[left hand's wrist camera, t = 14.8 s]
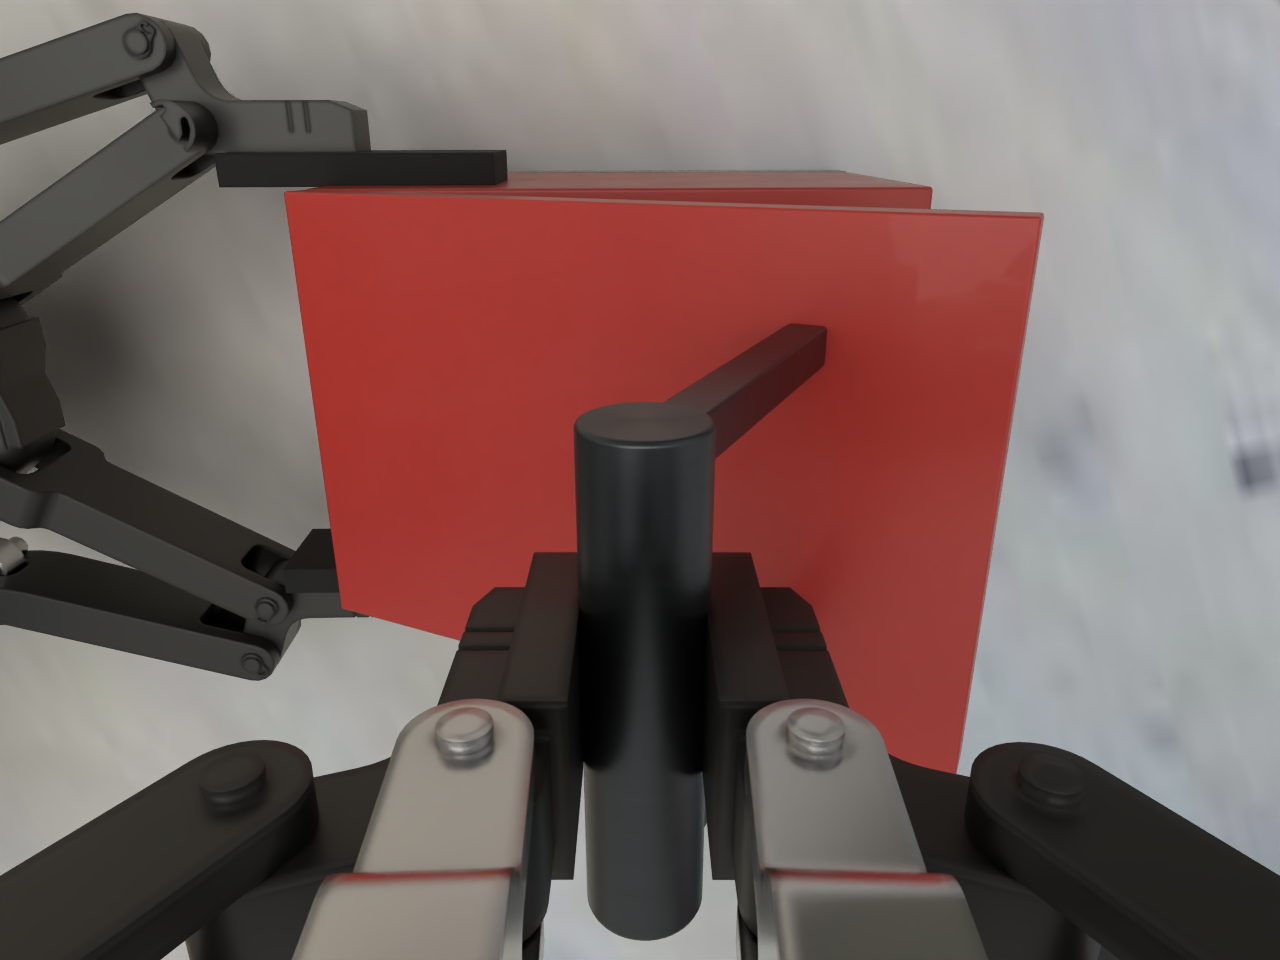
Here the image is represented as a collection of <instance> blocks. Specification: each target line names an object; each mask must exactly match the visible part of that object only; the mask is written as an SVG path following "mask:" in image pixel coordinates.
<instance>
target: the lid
mask: <svg viewBox="0 0 1280 960" xmlns="http://www.w3.org/2000/svg"><path fill="white" fill-rule="evenodd" d="M284 195H285V203H286V210H287V217H288V224H289V231H290V239H291V246H292V253H293V260H294V267H295V275H296V282H297V289H298V296H299V303H300V311H301V318H302V325H303V332H304V339H305V347H306V354H307V361H308V368H309V375H310V383H311V390H312V397H313V404H314V411H315V419H316V426H317V433H318V440H319V447H320V455H321V462H322V469H323V476H324V483H325V491H326V498H327V505H328V512H329V519H330V527H331V534H332V541H333V548H334V555H335V563H336V570H337V577H338V584H339V591H340V599H341V606H342V608H343V609H346V610H350V611H354V612H357V613H361V614H365V615H368V616H372V617H376V618H379V619H383V620H386V621H390V622H394V623H397V624H401V625H405V626H408V627H412V628H416V629H419V630H423V631H427V632H430V633H434V634H438V635H441V636H445V637H449V638H452V639H456V640H459V641H460V640H461V638H462V635H463V632H465V626H466V623H467V621H468V618H469V615H470V612H471V609H472V607H473V605H474V604H476V603H477V602H478V601H479V600H480V599H481V598H483V597H484V596H485V595H486V594H487V593H488V592H490V591H491V590H492V589H493V588H494V587H525V585H526V581H527V577H528V573H529V570H530V566H531V562H532V558H533V554H534V552H577V564H578V597H579V614H580V648H581V683H582V717H583V752H584V796H585V829H586V862H587V895H588V902H589V905H590V908H591V910H592V912H593V914H594V915H595V917H596V918H597V920H598V921H599V922H600V923H601V924H602V925H603V926H604V927H605V928H607V929H608V930H610V931H611V932H613V933H615V934H617V935H619V936H622V937H625V938H628V939H633V940H641V941H650V940H658V939H662V938H666V937H668V936H671V935H673V934H675V933H677V932H679V931H680V930H682V929H683V928H684V927H686V926H687V925H688V924H689V923H690V922H691V920H692V919H693V918H694V916H695V915H696V913H697V912H698V910H699V907H700V904H701V900H702V881H703V848H704V827H705V825H706V823H707V817H706V806H705V796H704V786H703V775H702V761H703V728H704V695H705V662H706V629H707V612H708V611H709V609H710V606H711V583H712V552H750V553H751V555H752V559H753V562H754V566H755V570H756V574H757V578H758V581H759V585H760V587H790V588H791V589H793V590H794V591H795V592H796V593H797V594H799V595H800V596H801V597H802V598H803V599H804V600H806V601H807V602H808V603H809V604H810V605H812V607H813V610H814V612H815V615H816V618H817V620H818V623H819V626H820V632H822V634H823V637H824V640H825V642H826V645H827V651H829V653H830V656H831V659H832V662H833V664H834V667H835V670H836V672H837V675H838V678H839V681H840V683H841V686H842V689H843V692H844V694H845V697H846V700H847V703H848V705H849V708H850V709H852V710H853V711H855V712H857V713H859V714H861V715H862V716H864V717H865V718H866V719H868V720H869V721H870V722H871V723H872V724H873V725H874V726H875V727H876V728H877V730H878V731H879V732H880V734H881V736H882V738H883V740H884V743H885V746H886V749H887V752H888V753H889V754H890V755H892V756H895V757H897V758H899V759H901V760H904V761H906V762H909V763H912V764H915V765H918V766H922V767H926V768H930V769H935V770H939V771H944V772H949V773H953V774H956V772H957V768H958V763H959V758H960V754H961V748H962V742H963V735H964V729H965V723H966V716H967V710H968V703H969V697H970V690H971V684H972V677H973V671H974V665H975V658H976V652H977V645H978V639H979V632H980V626H981V619H982V613H983V607H984V600H985V594H986V587H987V581H988V574H989V568H990V561H991V555H992V549H993V542H994V536H995V529H996V523H997V516H998V510H999V504H1000V497H1001V491H1002V484H1003V478H1004V471H1005V465H1006V458H1007V452H1008V446H1009V439H1010V433H1011V426H1012V420H1013V413H1014V407H1015V400H1016V394H1017V388H1018V381H1019V375H1020V368H1021V362H1022V355H1023V349H1024V343H1025V336H1026V330H1027V323H1028V317H1029V310H1030V304H1031V297H1032V291H1033V285H1034V278H1035V272H1036V265H1037V259H1038V252H1039V246H1040V239H1041V233H1042V227H1043V220H1044V214H1043V213H1032V212H1001V211H969V210H937V209H906V208H874V207H843V206H811V205H780V204H748V203H716V202H685V201H653V200H622V199H590V198H559V197H527V196H495V195H464V194H432V193H401V192H369V191H338V190H300V191H286V192H285V193H284Z"/></svg>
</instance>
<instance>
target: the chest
mask: <svg viewBox="0 0 1280 960" xmlns="http://www.w3.org/2000/svg"><path fill="white" fill-rule="evenodd" d="M507 175H508V180H506V181H503V182H501V183H499V184H497V185H384V186H322V187H317V188H311V189H307V190H338V191H369V192H401V193H432V194H464V195H495V196H527V197H559V198H590V199H622V200H653V201H685V202H716V203H748V204H780V205H811V206H843V207H874V208H906V209H930V208H931V199H932V188H931V187H928V186H922V185H916V184H911V183H905V182H899V181H893V180H887V179H882V178H876V177H870V176H864V175H859V174H853V173H847V172H846V171H840V170H752V171H507Z"/></svg>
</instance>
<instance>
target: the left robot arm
mask: <svg viewBox="0 0 1280 960" xmlns="http://www.w3.org/2000/svg"><path fill="white" fill-rule="evenodd" d="M583 764H584V752H583V717H582V683H581V648H580V614H579V597H578V564H577V552H534V554H533V558H532V562H531V566H530V570H529V573H528V577H527V581H526V585H525V587H494V588H493V589H492V590H491V591H490V592H488V593H487V594H486V595H485V596H484V597H483V598H481V599H480V600H479V601H478V602H477V603H476V604H474V605H473V607H472V609H471V612H470V615H469V618H468V621H467V623H466V626H465V632H463V635H462V638H461V640H460V643H459V650H457V652H456V654H455V657H454V660H453V663H452V666H451V669H450V671H449V674H448V677H447V680H446V683H445V685H444V688H443V691H442V694H441V697H440V699H439V702H438V705H437V706H436V707H433V708H431V709H429V710H427V711H425V712H423V713H421V714H419V715H418V716H417V717H415V718H414V719H412V720H411V721H410V722H409V723H408V724H407V725H406V726H405V727H404V728H403V730H402V731H401V732H400V734H399V736H398V738H397V740H396V743H395V746H394V749H393V752H392V756H391V757H389V758H387V759H385V760H383V761H380V762H377V763H374V764H371V765H368V766H364V767H360V768H356V769H351V770H346V771H342V772H337V773H333V774H328V775H323V776H319V777H313V771H312V765H311V762H310V760H309V758H308V756H307V755H306V754H305V753H304V752H303V751H302V750H300V749H299V748H297V747H296V746H293V745H290V744H288V743H284V742H279V741H271V740H255V741H246V742H239V743H235V744H231V745H227V746H224V747H221V748H218V749H214V750H212V751H210V752H207V753H205V754H203V755H201V756H199V757H197V758H195V759H193V760H191V761H189V762H188V763H186V764H184V765H183V766H181V767H180V768H178V769H176V770H175V771H173V772H171V773H170V774H168V775H166V776H165V777H163V778H161V779H160V780H158V781H156V782H155V783H153V784H151V785H150V786H148V787H146V788H145V789H143V790H141V791H140V792H138V793H137V794H135V795H133V796H132V797H130V798H128V799H127V800H125V801H123V802H122V803H120V804H118V805H117V806H115V807H113V808H112V809H110V810H108V811H107V812H105V813H103V814H102V815H100V816H98V817H97V818H95V819H94V820H92V821H90V822H89V823H87V824H85V825H84V826H82V827H80V828H79V829H77V830H75V831H74V832H72V833H70V834H69V835H67V836H65V837H64V838H62V839H60V840H59V841H57V842H55V843H54V844H52V845H51V846H49V847H47V848H46V849H44V850H42V851H41V852H39V853H37V854H36V855H34V856H32V857H31V858H29V859H27V860H26V861H24V862H22V863H21V864H19V865H17V866H16V867H14V868H12V869H11V870H9V871H8V872H6V873H4V874H3V875H1V876H0V960H161V959H162V958H163V957H165V956H166V955H167V954H168V953H170V952H171V951H172V950H174V949H175V948H176V947H177V946H179V945H180V944H181V943H183V942H184V941H185V942H186V946H187V950H188V954H189V958H190V960H543V953H544V924H543V919H544V917H545V914H546V912H547V907H548V902H549V894H550V885H551V880H573V877H574V866H575V855H576V843H577V832H578V821H579V809H580V798H581V787H582V775H583ZM702 775H703V786H704V796H705V806H706V817H707V827H708V838H709V848H710V858H711V869H712V879H713V880H735V884H736V892H737V900H738V906H737V926H736V951H737V960H1280V876H1279V875H1277V874H1276V873H1274V872H1273V871H1271V870H1269V869H1268V868H1266V867H1264V866H1263V865H1261V864H1259V863H1258V862H1256V861H1254V860H1253V859H1251V858H1249V857H1248V856H1246V855H1244V854H1243V853H1241V852H1239V851H1238V850H1236V849H1234V848H1233V847H1231V846H1230V845H1228V844H1226V843H1225V842H1223V841H1221V840H1220V839H1218V838H1216V837H1215V836H1213V835H1211V834H1210V833H1208V832H1206V831H1205V830H1203V829H1201V828H1200V827H1198V826H1196V825H1195V824H1193V823H1191V822H1190V821H1188V820H1187V819H1185V818H1183V817H1182V816H1180V815H1178V814H1177V813H1175V812H1173V811H1172V810H1170V809H1168V808H1167V807H1165V806H1163V805H1162V804H1160V803H1158V802H1157V801H1155V800H1153V799H1152V798H1150V797H1148V796H1147V795H1145V794H1144V793H1142V792H1140V791H1139V790H1137V789H1135V788H1134V787H1132V786H1130V785H1129V784H1127V783H1125V782H1124V781H1122V780H1120V779H1119V778H1117V777H1115V776H1114V775H1112V774H1110V773H1109V772H1107V771H1105V770H1104V769H1102V768H1101V767H1099V766H1097V765H1096V764H1094V763H1092V762H1090V761H1088V760H1086V759H1085V758H1083V757H1081V756H1078V755H1076V754H1074V753H1071V752H1069V751H1066V750H1063V749H1060V748H1057V747H1052V746H1048V745H1044V744H1037V743H1027V742H1013V743H1004V744H999V745H996V746H993V747H990V748H988V749H986V750H985V751H983V752H981V753H980V754H979V755H978V756H977V757H976V758H975V760H974V762H973V764H972V768H971V775H970V777H967V776H962V775H958V774H953V773H949V772H944V771H939V770H935V769H930V768H926V767H922V766H918V765H915V764H912V763H909V762H906V761H904V760H901V759H899V758H897V757H895V756H892V755H890V754H889V753H888V752H887V749H886V746H885V743H884V740H883V738H882V736H881V734H880V732H879V731H878V730H877V728H876V727H875V726H874V725H873V724H872V723H871V722H870V721H869V720H868V719H866V718H865V717H864V716H862V715H861V714H859V713H857V712H855V711H853V710H852V709H850V708H849V705H848V703H847V700H846V697H845V694H844V692H843V689H842V686H841V683H840V681H839V678H838V675H837V672H836V670H835V667H834V664H833V662H832V659H831V656H830V653H829V651H827V645H826V642H825V640H824V637H823V634H822V632H820V626H819V623H818V620H817V618H816V615H815V612H814V610H813V607H812V605H810V604H809V603H808V602H807V601H806V600H804V599H803V598H802V597H801V596H800V595H799V594H797V593H796V592H795V591H794V590H793V589H791V588H790V587H760V585H759V581H758V578H757V574H756V570H755V566H754V562H753V559H752V555H751V553H750V552H712V583H711V606H710V609H709V611H708V612H707V629H706V662H705V695H704V728H703V761H702Z"/></svg>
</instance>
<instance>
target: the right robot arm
mask: <svg viewBox="0 0 1280 960" xmlns="http://www.w3.org/2000/svg"><path fill="white" fill-rule="evenodd" d="M210 58H211V52H210V48H209V44H208V42H207V41H206V39H205V38H204V36H203V35H202V34H201V33H200V32H199V31H197V30H196V29H195V28H193V27H190V26H187V25H184V24H180V23H176V22H171V21H167V20H163V19H159V18H155V17H151V16H147V15H143V14H139V13H131V14H125V15H122V16H119V17H116V18H113V19H110V20H108V21H105V22H102V23H99V24H96V25H94V26H91V27H88V28H85V29H82V30H79V31H77V32H74V33H71V34H68V35H65V36H63V37H60V38H57V39H54V40H51V41H48V42H46V43H43V44H40V45H37V46H34V47H32V48H29V49H26V50H23V51H20V52H17V53H15V54H12V55H9V56H6V57H3V58H1V59H0V145H1V144H4V143H7V142H10V141H12V140H15V139H18V138H21V137H24V136H27V135H30V134H33V133H36V132H38V131H41V130H44V129H47V128H50V127H53V126H56V125H59V124H62V123H64V122H67V121H70V120H73V119H76V118H79V117H82V116H85V115H88V114H90V113H93V112H96V111H99V110H102V109H105V108H108V107H111V106H114V105H116V104H119V103H122V102H125V101H128V100H131V99H134V98H137V97H140V96H142V95H145V94H148V96H149V97H150V99H151V101H152V102H151V103H150V104H151V105H152V107H153V108H155V109H156V111H155V112H153V113H152V114H150V115H149V116H148V117H146V118H145V119H143V120H142V121H141V122H139V123H138V124H136V125H135V126H134V127H132V128H131V129H129V130H128V131H127V132H125V133H124V134H122V135H121V136H120V137H118V138H117V139H115V140H114V141H113V142H111V143H110V144H108V145H107V146H106V147H104V148H103V149H101V150H100V151H99V152H97V153H96V154H94V155H93V156H92V157H90V158H89V159H87V160H86V161H85V162H83V163H82V164H80V165H79V166H78V167H76V168H75V169H73V170H72V171H71V172H69V173H68V174H66V175H65V176H64V177H62V178H61V179H59V180H58V181H57V182H55V183H54V184H52V185H51V186H50V187H48V188H47V189H45V190H44V191H43V192H41V193H40V194H38V195H37V196H36V197H34V198H33V199H31V200H30V201H29V202H27V203H26V204H24V205H23V206H22V207H20V208H19V209H17V210H16V211H15V212H13V213H12V214H10V215H9V216H8V217H6V218H5V219H3V220H2V221H1V222H0V520H1V521H3V522H5V523H7V524H10V525H12V526H15V527H18V528H26V529H30V528H46V529H49V530H51V531H54V532H56V533H58V534H60V535H62V536H65V537H67V538H69V539H71V540H73V541H76V542H78V543H80V544H82V545H84V546H87V547H89V548H91V549H93V550H96V551H98V552H100V553H102V554H104V555H107V556H109V557H111V558H113V559H115V560H118V561H120V562H122V563H124V564H127V565H129V566H131V567H133V568H135V569H138V570H135V569H131V568H127V567H123V566H119V565H114V564H110V563H106V562H102V561H98V560H93V559H89V558H85V557H81V556H77V555H72V554H67V553H61V552H54V551H43V550H36V551H27V550H28V545H27V543H26V541H24V540H23V539H22V538H19V537H12V538H10V539H9V540H7V539H5V538H0V625H9V626H14V627H18V628H22V629H27V630H31V631H36V632H40V633H44V634H49V635H53V636H58V637H62V638H67V639H71V640H75V641H80V642H84V643H89V644H93V645H98V646H102V647H106V648H111V649H115V650H120V651H124V652H128V653H133V654H137V655H142V656H146V657H151V658H155V659H159V660H164V661H168V662H173V663H177V664H182V665H186V666H190V667H195V668H199V669H204V670H208V671H212V672H217V673H221V674H226V675H230V676H235V677H239V678H243V679H248V680H257V681H259V680H263V679H266V678H267V677H268V676H270V675H271V674H272V672H273V671H274V669H275V668H276V666H277V664H278V663H279V661H280V660H281V658H282V657H283V655H284V653H285V652H286V650H287V649H288V647H289V646H290V644H291V642H292V641H293V639H294V637H295V636H296V634H297V633H298V631H299V629H300V627H301V619H305V618H336V617H355V616H357V617H369V616H368V615H365V614H361V613H357V612H354V611H350V610H346V609H343V608H342V606H341V599H340V591H339V584H338V577H337V570H336V563H335V555H334V548H333V541H332V534H331V529H312V531H311V532H310V533H309V535H308V536H307V537H306V539H305V540H304V541H303V543H302V544H301V545H300V547H299V548H298V549H297V551H294V550H292V549H290V548H288V547H286V546H284V545H281V544H279V543H277V542H275V541H273V540H271V539H269V538H267V537H265V536H262V535H260V534H258V533H256V532H254V531H252V530H250V529H248V528H246V527H244V526H241V525H239V524H237V523H235V522H233V521H231V520H229V519H227V518H225V517H222V516H220V515H218V514H216V513H214V512H212V511H210V510H208V509H206V508H203V507H201V506H199V505H197V504H195V503H193V502H191V501H189V500H187V499H184V498H182V497H180V496H178V495H176V494H174V493H172V492H170V491H168V490H165V489H163V488H161V487H159V486H157V485H155V484H153V483H151V482H149V481H146V480H144V479H142V478H140V477H138V476H136V475H134V474H132V473H130V472H127V471H125V470H123V469H121V468H119V467H117V466H115V465H113V464H111V463H109V462H107V461H106V460H105V457H104V453H103V452H102V451H101V450H100V449H99V448H97V447H96V446H94V445H92V444H90V443H87V442H85V441H83V440H81V439H79V438H77V437H75V436H73V435H71V434H69V433H66V432H64V431H62V430H60V429H59V428H61V427H63V426H65V422H64V418H63V414H62V410H61V406H60V401H59V399H58V397H57V395H56V393H55V391H54V389H53V387H52V385H51V384H50V382H49V380H48V378H47V376H46V374H45V341H44V337H43V333H42V329H41V325H40V321H39V317H31V318H29V317H28V315H27V314H26V312H25V311H24V309H23V308H22V306H21V305H22V304H23V303H25V302H26V301H28V300H29V299H31V298H32V297H34V296H35V295H36V294H38V293H39V292H41V291H42V290H44V289H45V288H47V287H48V286H50V285H51V284H52V283H54V282H55V281H57V280H58V279H59V278H60V277H61V276H62V273H63V272H64V271H65V270H66V269H68V268H69V267H71V266H72V265H73V264H75V263H76V262H78V261H79V260H81V259H82V258H84V257H85V256H86V255H88V254H89V253H91V252H92V251H94V250H95V249H97V248H98V247H100V246H101V245H102V244H104V243H105V242H107V241H108V240H110V239H111V238H113V237H114V236H115V235H117V234H118V233H120V232H121V231H123V230H124V229H126V228H127V227H128V226H130V225H131V224H133V223H134V222H136V221H137V220H139V219H140V218H141V217H143V216H144V215H146V214H147V213H149V212H150V211H152V210H153V209H155V208H156V207H157V206H159V205H160V204H162V203H163V202H165V201H166V200H168V199H169V198H170V197H172V196H173V195H175V194H176V193H178V192H179V191H181V190H182V189H183V188H185V187H186V186H188V185H189V184H191V183H192V182H194V181H195V180H196V179H198V178H199V177H201V176H202V175H204V174H205V173H207V172H208V171H210V170H211V169H212V168H214V167H215V166H216V170H217V176H218V182H219V187H322V186H384V185H497V184H499V183H501V182H503V181H506V180H508V175H507V156H506V150H371V146H370V136H369V127H368V117H367V110H364V109H362V108H359V107H357V106H354V105H352V104H350V103H347V102H341V101H332V100H240V99H238V98H236V97H234V96H233V95H231V94H230V93H229V92H228V91H227V90H226V89H225V88H224V87H223V86H222V84H221V83H220V81H219V79H218V77H217V75H216V73H215V71H214V69H213V67H212V65H211V63H210ZM33 467H35V468H38V470H37V471H35V472H33V473H30V474H26V473H27V472H28V471H29V470H31V469H32V468H33ZM371 617H372V616H371Z"/></svg>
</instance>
